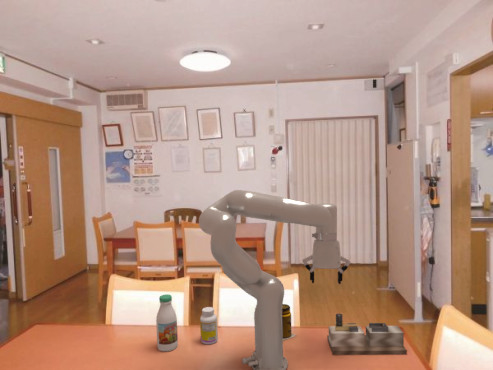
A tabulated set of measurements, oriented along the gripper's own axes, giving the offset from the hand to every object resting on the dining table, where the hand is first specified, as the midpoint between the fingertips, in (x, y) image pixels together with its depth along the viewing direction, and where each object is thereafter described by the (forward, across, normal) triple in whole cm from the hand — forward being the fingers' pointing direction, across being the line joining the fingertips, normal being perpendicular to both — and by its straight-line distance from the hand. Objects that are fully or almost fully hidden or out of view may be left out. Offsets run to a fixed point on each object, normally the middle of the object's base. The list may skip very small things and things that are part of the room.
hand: (326, 282), depth 140 cm
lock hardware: (+17, +15, +1) cm, 23 cm away
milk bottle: (+26, -60, -3) cm, 65 cm away
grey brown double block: (+24, +15, +1) cm, 28 cm away
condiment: (+25, -16, +8) cm, 31 cm away
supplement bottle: (+26, -45, +2) cm, 52 cm away
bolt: (+17, +8, 0) cm, 19 cm away
